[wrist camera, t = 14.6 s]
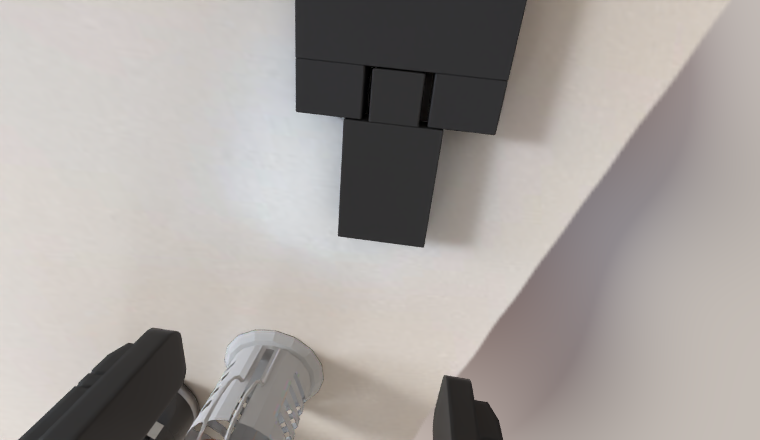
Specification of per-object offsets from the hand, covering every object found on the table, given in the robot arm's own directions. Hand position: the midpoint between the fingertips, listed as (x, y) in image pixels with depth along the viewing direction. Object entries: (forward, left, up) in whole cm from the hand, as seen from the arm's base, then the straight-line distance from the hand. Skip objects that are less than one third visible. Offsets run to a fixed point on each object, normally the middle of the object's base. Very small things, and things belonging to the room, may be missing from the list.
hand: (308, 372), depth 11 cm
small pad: (+3, -1, -17) cm, 17 cm away
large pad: (+10, -1, -17) cm, 19 cm away
